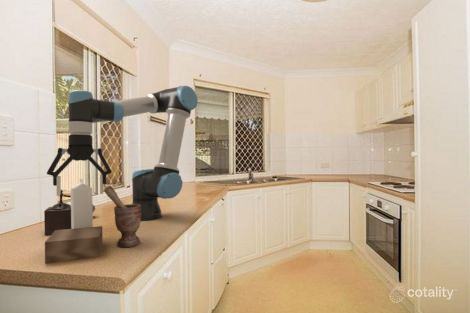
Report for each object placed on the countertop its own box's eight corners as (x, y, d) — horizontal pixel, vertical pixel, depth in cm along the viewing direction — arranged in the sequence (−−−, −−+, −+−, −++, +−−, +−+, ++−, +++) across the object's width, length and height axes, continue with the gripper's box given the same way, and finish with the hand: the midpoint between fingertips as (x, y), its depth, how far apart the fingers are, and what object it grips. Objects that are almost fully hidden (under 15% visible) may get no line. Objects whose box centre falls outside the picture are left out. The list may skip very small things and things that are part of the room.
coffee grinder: (43, 236, 111) (42, 188, 111) (48, 229, 121) (47, 185, 121) (88, 231, 117) (88, 186, 117) (90, 225, 127) (89, 184, 127)
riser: (102, 243, 101) (102, 226, 101) (99, 256, 88) (99, 236, 88) (55, 248, 96) (55, 230, 96) (45, 263, 83) (44, 242, 83)
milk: (74, 244, 101) (72, 180, 100) (71, 240, 106) (70, 178, 105) (93, 240, 104) (92, 178, 104) (89, 236, 109) (88, 177, 109)
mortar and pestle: (104, 251, 93) (104, 188, 93) (104, 243, 101) (104, 185, 101) (142, 246, 98) (142, 186, 97) (139, 239, 105) (139, 183, 105)
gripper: (118, 136, 112) (118, 191, 112) (42, 134, 103) (42, 194, 103) (118, 134, 105) (118, 193, 105) (36, 132, 96) (36, 197, 96)
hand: (80, 194), depth 104 cm, fingers open, 13 cm apart
